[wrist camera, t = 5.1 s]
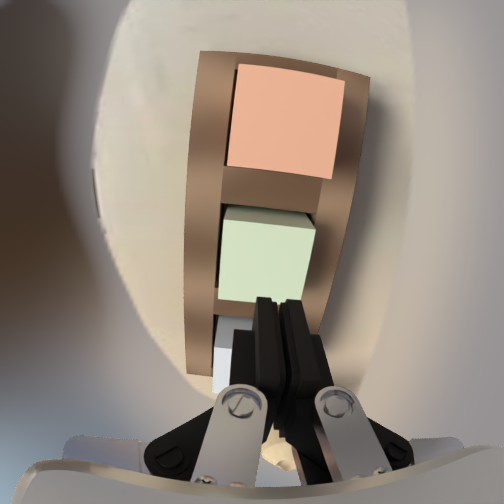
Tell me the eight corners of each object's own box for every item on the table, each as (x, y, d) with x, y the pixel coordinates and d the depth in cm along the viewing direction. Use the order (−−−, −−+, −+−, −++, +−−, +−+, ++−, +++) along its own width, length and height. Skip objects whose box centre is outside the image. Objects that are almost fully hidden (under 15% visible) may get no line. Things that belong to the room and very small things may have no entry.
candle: (299, 403, 30) (309, 474, 21) (254, 399, 30) (255, 474, 21) (315, 375, 28) (332, 453, 19) (267, 370, 28) (272, 453, 18)
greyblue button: (220, 307, 21) (214, 347, 17) (285, 312, 21) (292, 352, 17) (217, 353, 23) (212, 393, 19) (274, 358, 23) (278, 397, 19)
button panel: (209, 65, 16) (200, 50, 13) (348, 85, 17) (370, 77, 13) (193, 343, 26) (186, 373, 22) (295, 352, 26) (301, 382, 23)
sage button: (229, 199, 19) (223, 219, 15) (301, 208, 19) (315, 229, 15) (223, 265, 21) (217, 298, 17) (290, 272, 21) (299, 305, 17)
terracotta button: (241, 80, 15) (238, 63, 11) (322, 92, 15) (345, 81, 11) (233, 157, 17) (226, 165, 13) (312, 167, 17) (331, 179, 13)
